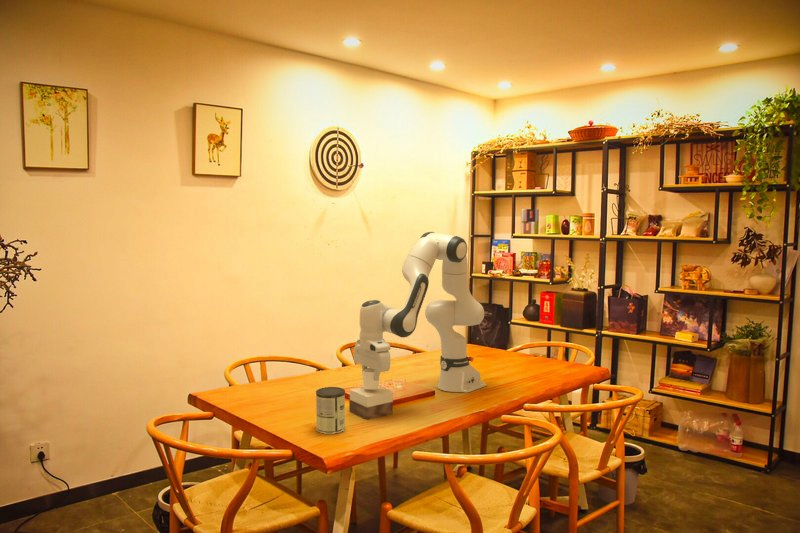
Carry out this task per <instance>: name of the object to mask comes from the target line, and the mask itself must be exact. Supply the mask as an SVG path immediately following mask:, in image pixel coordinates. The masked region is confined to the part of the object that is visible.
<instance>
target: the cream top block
mask: <svg viewBox="0 0 800 533" xmlns="http://www.w3.org/2000/svg"><path fill="white" fill-rule="evenodd" d="M349 400H352V401H354V402H356V403H358V404H361V405H363V406H365V407H371V406H376V405H380V404H385V403H389V402H394V391H393V390H390V389H387V388H386V387H382V386H378V388H377V389H365V388H364V386H362V387H356V388H352V389H351V388H350V389H349Z"/></svg>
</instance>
